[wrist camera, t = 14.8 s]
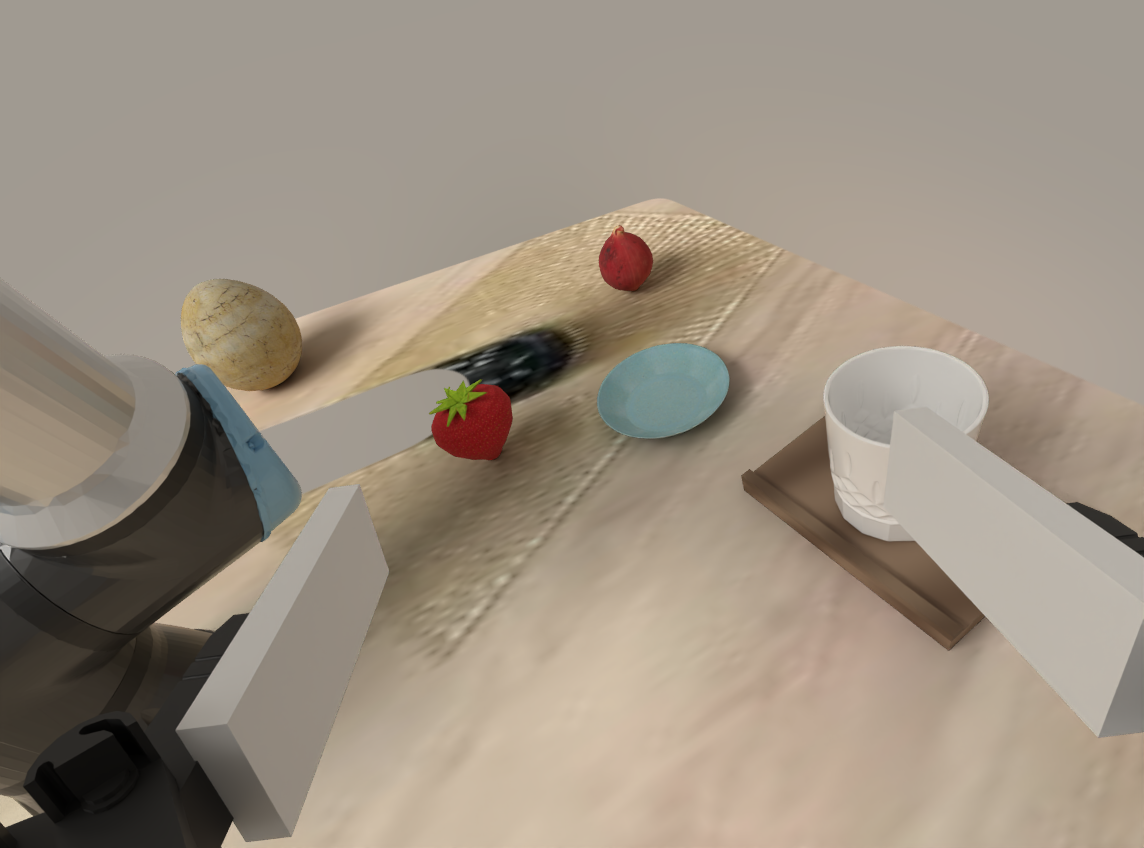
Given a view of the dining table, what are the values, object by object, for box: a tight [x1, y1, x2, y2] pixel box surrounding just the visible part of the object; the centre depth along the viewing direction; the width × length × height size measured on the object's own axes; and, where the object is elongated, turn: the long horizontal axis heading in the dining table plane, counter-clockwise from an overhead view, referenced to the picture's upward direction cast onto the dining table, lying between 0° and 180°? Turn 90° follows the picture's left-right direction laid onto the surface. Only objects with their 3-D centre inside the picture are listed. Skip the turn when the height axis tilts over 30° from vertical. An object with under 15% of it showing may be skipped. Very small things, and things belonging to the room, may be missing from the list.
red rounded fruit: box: [599, 225, 653, 291], centre depth 64 cm, size 6×6×8 cm
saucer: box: [597, 343, 729, 439], centre depth 53 cm, size 12×12×2 cm
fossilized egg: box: [181, 279, 302, 391], centre depth 74 cm, size 13×13×15 cm
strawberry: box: [429, 380, 513, 460], centre depth 52 cm, size 6×8×10 cm
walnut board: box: [741, 416, 985, 651], centre depth 39 cm, size 16×11×2 cm
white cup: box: [823, 346, 989, 541], centre depth 36 cm, size 8×8×10 cm
